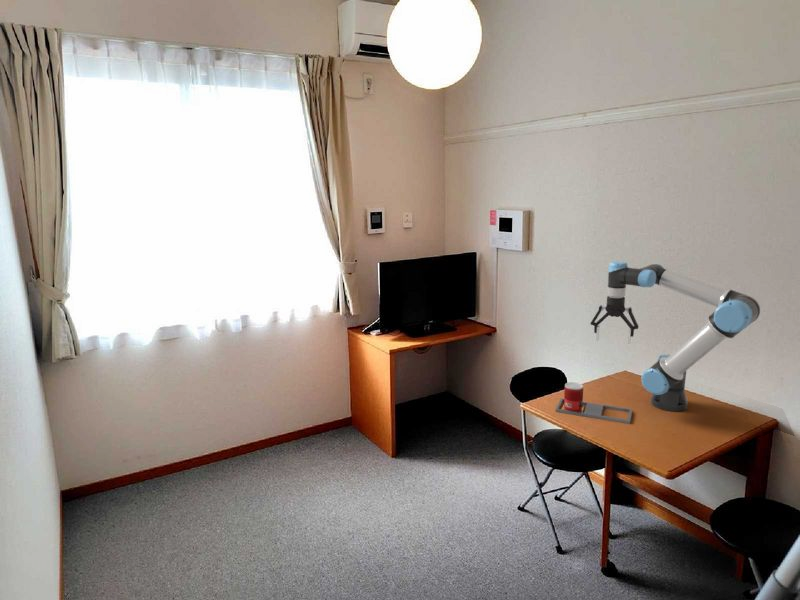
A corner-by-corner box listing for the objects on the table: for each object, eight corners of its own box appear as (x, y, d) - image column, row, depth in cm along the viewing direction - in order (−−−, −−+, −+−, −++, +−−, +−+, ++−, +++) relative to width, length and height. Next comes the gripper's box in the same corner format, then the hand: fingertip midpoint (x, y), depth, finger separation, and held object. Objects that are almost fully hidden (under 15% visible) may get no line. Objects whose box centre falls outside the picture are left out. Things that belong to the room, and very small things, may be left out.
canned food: (583, 411, 245) (584, 388, 242) (565, 411, 246) (566, 388, 244) (580, 404, 252) (581, 382, 250) (562, 404, 253) (563, 381, 251)
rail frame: (632, 411, 244) (632, 409, 244) (629, 423, 233) (630, 421, 233) (560, 400, 258) (560, 398, 257) (555, 411, 246) (555, 409, 246)
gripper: (646, 296, 244) (643, 342, 248) (588, 292, 254) (585, 336, 259) (646, 300, 237) (642, 346, 242) (585, 295, 248) (583, 340, 253)
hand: (613, 341), depth 251 cm, fingers open, 13 cm apart
